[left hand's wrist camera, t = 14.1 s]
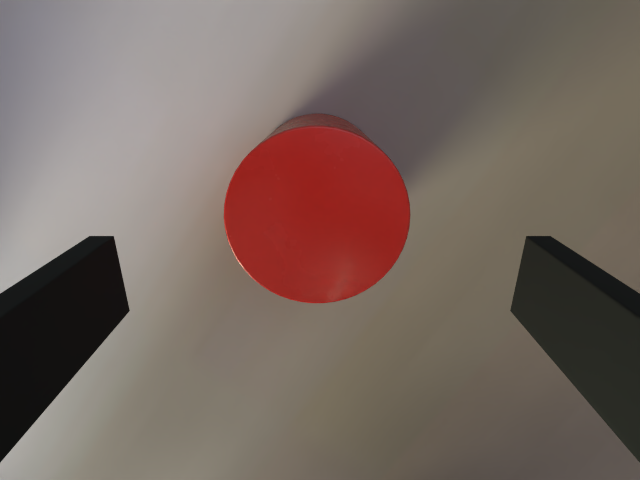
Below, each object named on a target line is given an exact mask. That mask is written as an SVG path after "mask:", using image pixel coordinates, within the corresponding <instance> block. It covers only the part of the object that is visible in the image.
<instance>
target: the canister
mask: <svg viewBox="0 0 640 480" xmlns="http://www.w3.org/2000/svg"><path fill="white" fill-rule="evenodd" d="M224 223H225V230H226V234H227V238H228V241H229V244H230V247H231V249H232V251H233V253H234V255H235V257H236V259H237V260H238V262H239V263H240V264H241V266H242V267H243V269H244V270H245V271H246V272H247V273H248V274H249V275H250V276H251V277H252V278H253V279H254V280H255V281H256V282H258V283H259V284H260V285H262V286H263V287H265V288H266V289H268V290H269V291H271V292H273V293H275V294H277V295H279V296H282V297H285V298H288V299H291V300H295V301H300V302H307V303H327V302H335V301H339V300H343V299H347V298H349V297H352V296H355V295H357V294H359V293H361V292H363V291H365V290H367V289H368V288H370V287H371V286H373V285H374V284H376V283H377V282H378V281H379V280H380V279H381V278H383V277H384V276H385V274H386V273H387V272H388V271H389V270H390V269H391V268H392V266H393V265H394V263H395V262H396V261H397V259H398V257H399V255H400V253H401V252H402V250H403V247H404V245H405V242H406V239H407V235H408V231H409V225H410V203H409V198H408V193H407V190H406V187H405V184H404V181H403V179H402V177H401V175H400V173H399V171H398V169H397V168H396V167H395V165H394V164H393V162H392V161H391V160H390V158H389V157H388V156H387V155H386V154H385V153H384V152H383V151H382V150H381V149H380V148H379V147H378V146H377V145H376V144H374V143H373V142H372V141H371V140H370V139H369V138H368V137H367V136H366V135H365V134H364V133H363V132H362V131H361V130H359V129H358V128H357V127H356V126H354V125H353V124H351V123H350V122H348V121H346V120H344V119H341V118H339V117H336V116H332V115H327V114H308V115H303V116H299V117H296V118H294V119H291V120H289V121H287V122H286V123H284V124H282V125H281V126H280V127H278V128H277V129H276V130H275V131H274V132H272V133H271V134H270V135H269V136H268V137H267V138H266V139H264V140H263V141H262V142H261V143H260V144H259V145H258V146H256V147H255V148H254V149H253V150H252V151H251V152H250V153H249V154H248V155H247V156H246V157H245V158H244V160H243V161H242V162H241V164H240V165H239V167H238V168H237V169H236V171H235V173H234V175H233V177H232V179H231V181H230V184H229V187H228V190H227V193H226V198H225V204H224Z"/></svg>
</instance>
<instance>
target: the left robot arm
mask: <svg viewBox="0 0 640 480" xmlns="http://www.w3.org/2000/svg"><path fill="white" fill-rule="evenodd" d="M129 311H130V310H129V306H128V301H127V296H126V292H125V287H124V282H123V278H122V273H121V268H120V264H119V259H118V254H117V250H116V245H115V240H114V236H89V237H88V238H86V239H84V240H83V241H81V242H80V243H78V244H77V245H75V246H74V247H72V248H70V249H69V250H67V251H66V252H64V253H63V254H61V255H60V256H58V257H57V258H55V259H53V260H52V261H50V262H49V263H47V264H46V265H44V266H43V267H41V268H39V269H38V270H36V271H35V272H33V273H32V274H30V275H29V276H27V277H26V278H24V279H22V280H21V281H19V282H18V283H16V284H15V285H13V286H12V287H10V288H8V289H7V290H5V291H4V292H2V293H1V294H0V462H1V461H2V460H3V459H4V457H5V456H6V455H7V454H8V453H9V452H10V450H11V449H12V448H13V447H14V446H15V445H16V443H17V442H18V441H19V440H20V439H21V437H22V436H23V435H24V434H25V433H26V432H27V430H28V429H29V428H30V427H31V426H32V425H33V423H34V422H35V421H36V420H37V419H38V418H39V416H40V415H41V414H42V413H43V412H44V411H45V409H46V408H47V407H48V406H49V405H50V404H51V402H52V401H53V400H54V399H55V398H56V396H57V395H58V394H59V393H60V392H61V391H62V389H63V388H64V387H65V386H66V385H67V384H68V382H69V381H70V380H71V379H72V378H73V377H74V375H75V374H76V373H77V372H78V371H79V370H80V368H81V367H82V366H83V365H84V364H85V362H86V361H87V360H88V359H89V358H90V357H91V355H92V354H93V353H94V352H95V351H96V350H97V348H98V347H99V346H100V345H101V344H102V343H103V341H104V340H105V339H106V338H107V337H108V336H109V334H110V333H111V332H112V331H113V330H114V328H115V327H116V326H117V325H118V324H119V323H120V321H121V320H122V319H123V318H124V317H125V316H126V314H127V313H128V312H129ZM510 311H511V312H512V313H513V314H514V316H515V317H516V318H517V319H518V320H519V321H520V323H521V324H522V325H523V326H524V327H525V328H526V330H527V331H528V332H529V333H530V334H531V336H532V337H533V338H534V339H535V340H536V341H537V343H538V344H539V345H540V346H541V347H542V348H543V350H544V351H545V352H546V353H547V354H548V355H549V357H550V358H551V359H552V360H553V361H554V362H555V364H556V365H557V366H558V367H559V368H560V370H561V371H562V372H563V373H564V374H565V375H566V377H567V378H568V379H569V380H570V381H571V382H572V384H573V385H574V386H575V387H576V388H577V389H578V391H579V392H580V393H581V394H582V395H583V396H584V398H585V399H586V400H587V401H588V402H589V404H590V405H591V406H592V407H593V408H594V409H595V411H596V412H597V413H598V414H599V415H600V416H601V418H602V419H603V420H604V421H605V422H606V423H607V425H608V426H609V427H610V428H611V429H612V430H613V432H614V433H615V434H616V435H617V436H618V437H619V439H620V440H621V441H622V442H623V443H624V445H625V446H626V447H627V448H628V449H629V450H630V452H631V453H632V454H633V455H634V456H635V457H636V459H637V460H638V461H639V462H640V294H639V293H638V292H636V291H635V290H633V289H632V288H630V287H628V286H627V285H625V284H624V283H622V282H621V281H619V280H618V279H616V278H614V277H613V276H611V275H610V274H608V273H607V272H605V271H604V270H602V269H601V268H599V267H597V266H596V265H594V264H593V263H591V262H590V261H588V260H587V259H585V258H583V257H582V256H580V255H579V254H577V253H576V252H574V251H573V250H571V249H570V248H568V247H566V246H565V245H563V244H562V243H560V242H559V241H557V240H556V239H554V238H552V237H551V236H526V240H525V245H524V250H523V254H522V259H521V264H520V268H519V273H518V278H517V282H516V287H515V292H514V296H513V301H512V306H511V310H510Z"/></svg>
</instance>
